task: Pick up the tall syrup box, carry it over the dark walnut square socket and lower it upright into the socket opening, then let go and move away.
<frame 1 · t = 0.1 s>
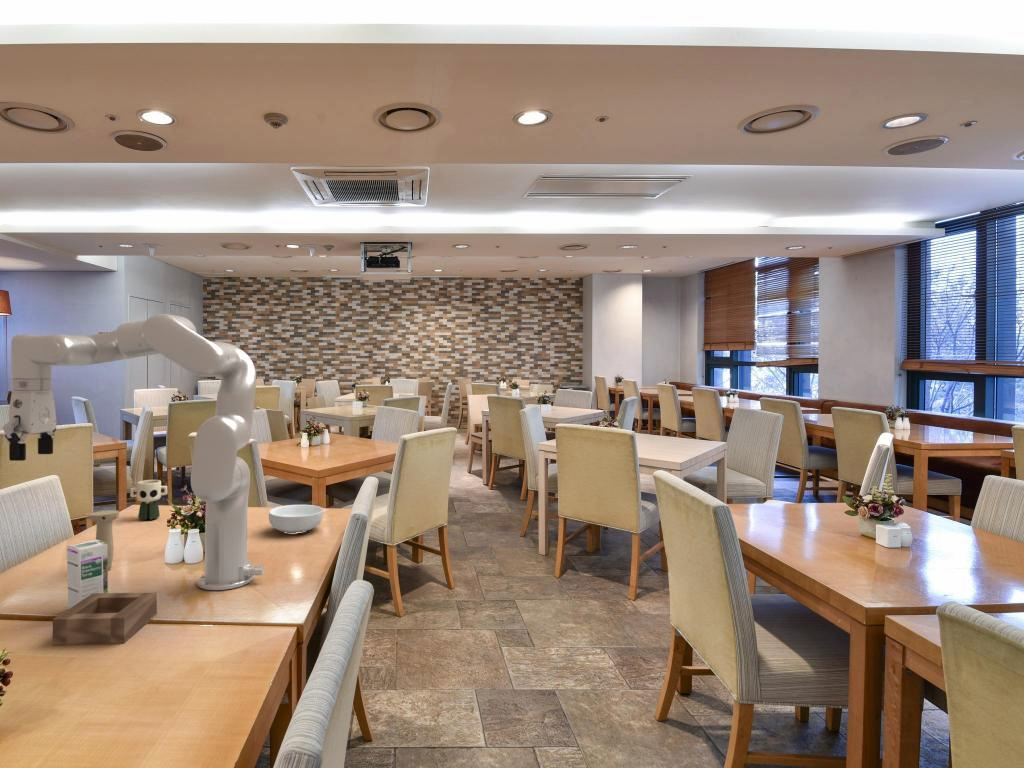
hand: (32, 457, 143), 31 cm above the table, tool pointing down, fingers open, 9 cm apart
handle: (104, 570, 155), on the table
cereal bowl: (296, 531, 195), on the table
syrup box: (87, 609, 132), on the table
character mug: (149, 519, 205), on the table
socket: (107, 629, 122), on the table
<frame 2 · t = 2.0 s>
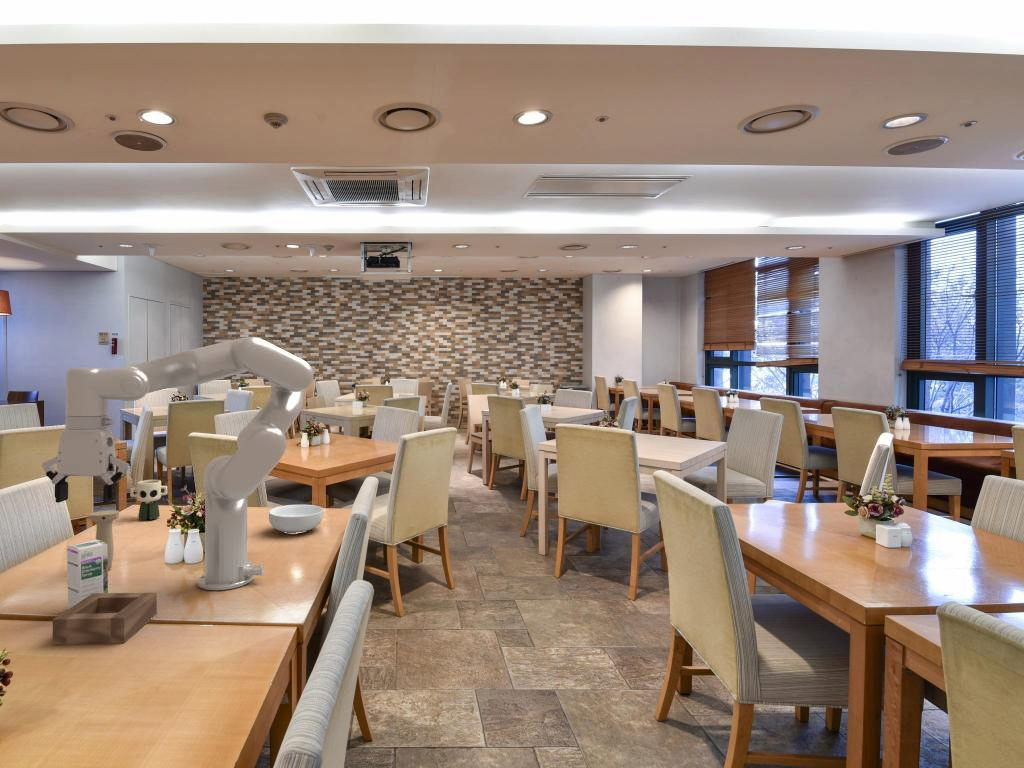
hand: (85, 501, 131), 24 cm above the table, tool pointing down, fingers open, 9 cm apart
nothing on the table moved.
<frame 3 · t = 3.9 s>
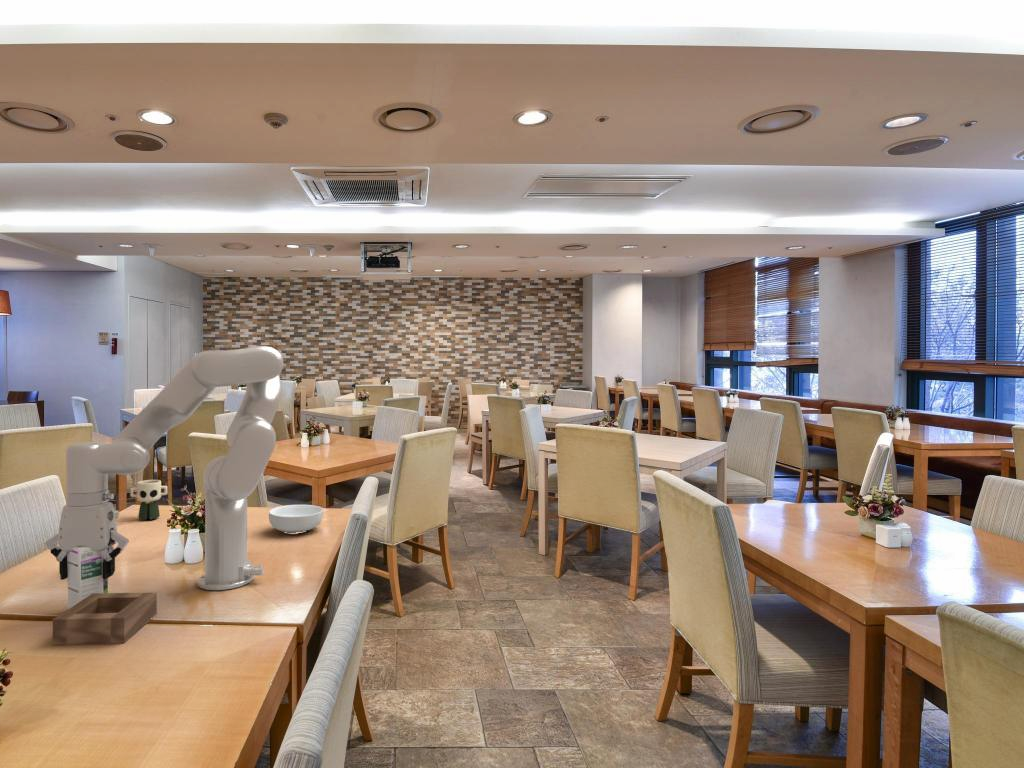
hand: (87, 576, 131), 7 cm above the table, tool pointing down, fingers closed on syrup box, 8 cm apart
syrup box: (87, 609, 132), on the table, touching gripper
everything else where it was.
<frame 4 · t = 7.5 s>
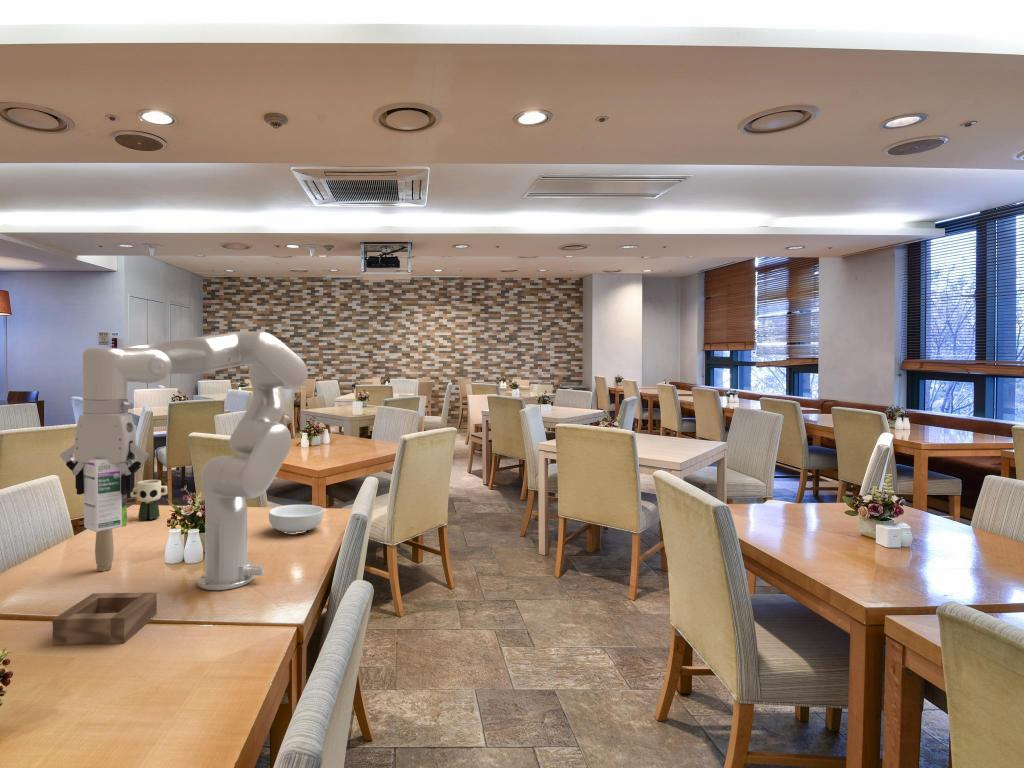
hand: (105, 492, 122), 28 cm above the table, tool pointing down, fingers closed on syrup box, 8 cm apart
syrup box: (105, 528, 122), point 21 cm above the table, touching gripper
everything else where it was.
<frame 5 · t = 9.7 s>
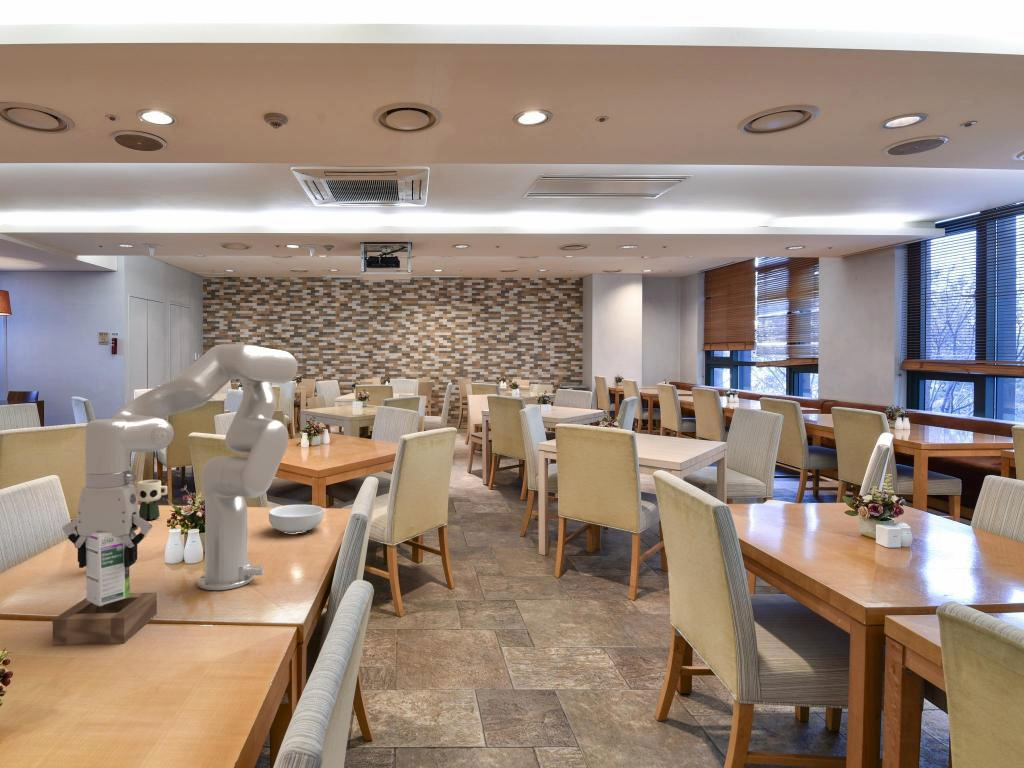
hand: (107, 564, 121), 13 cm above the table, tool pointing down, fingers closed on syrup box, 8 cm apart
syrup box: (107, 600, 122), point 6 cm above the table, touching gripper
everything else where it was.
when the fingers open (8 cm above the table, at t = 11.3 s): syrup box drops 1 cm, resting in socket.
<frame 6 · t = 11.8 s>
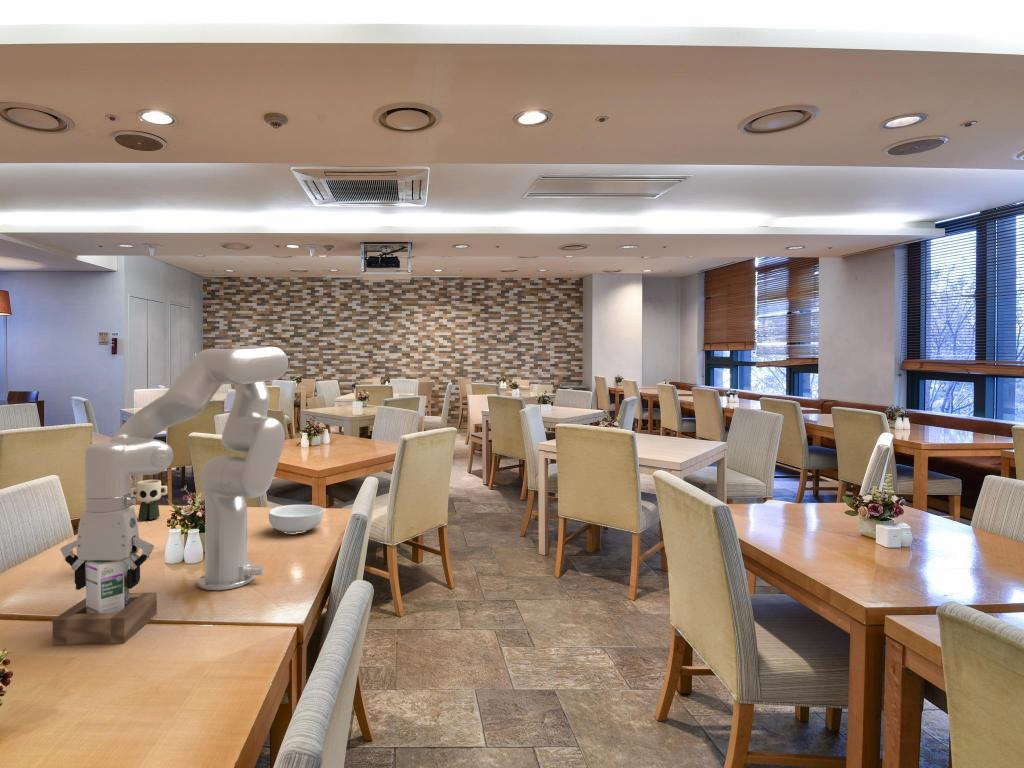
hand: (107, 586, 122), 9 cm above the table, tool pointing down, fingers open, 9 cm apart
syrup box: (107, 630, 122), resting in socket
everything else where it was.
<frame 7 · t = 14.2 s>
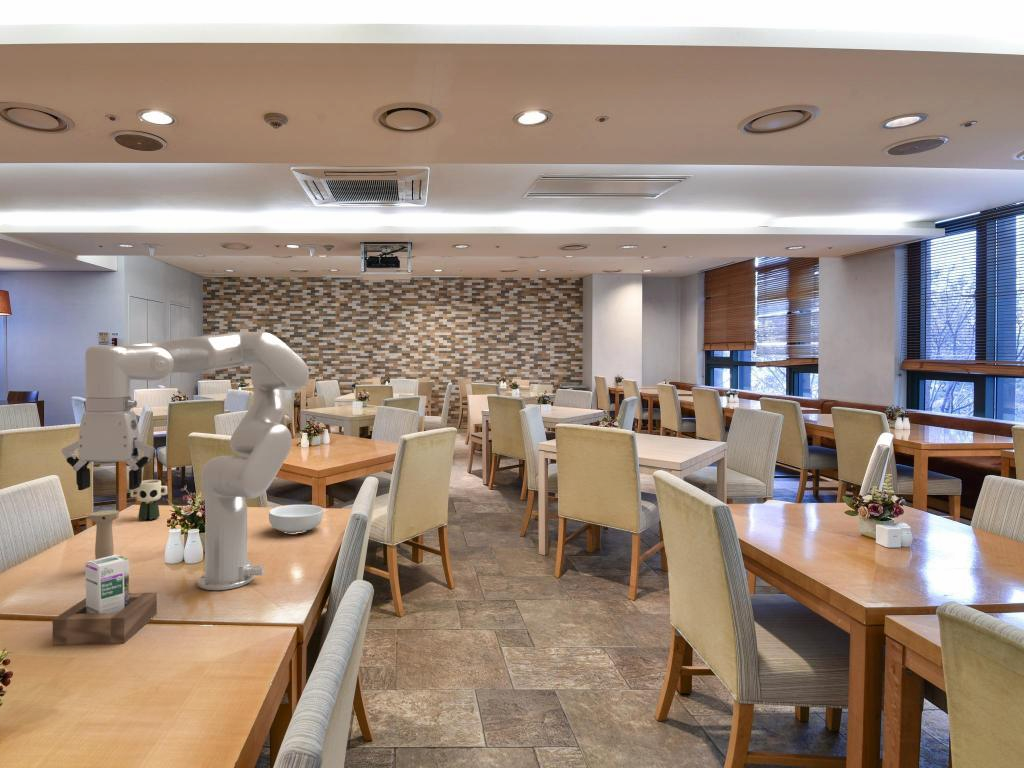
hand: (109, 488, 123), 29 cm above the table, tool pointing down, fingers open, 9 cm apart
nothing on the table moved.
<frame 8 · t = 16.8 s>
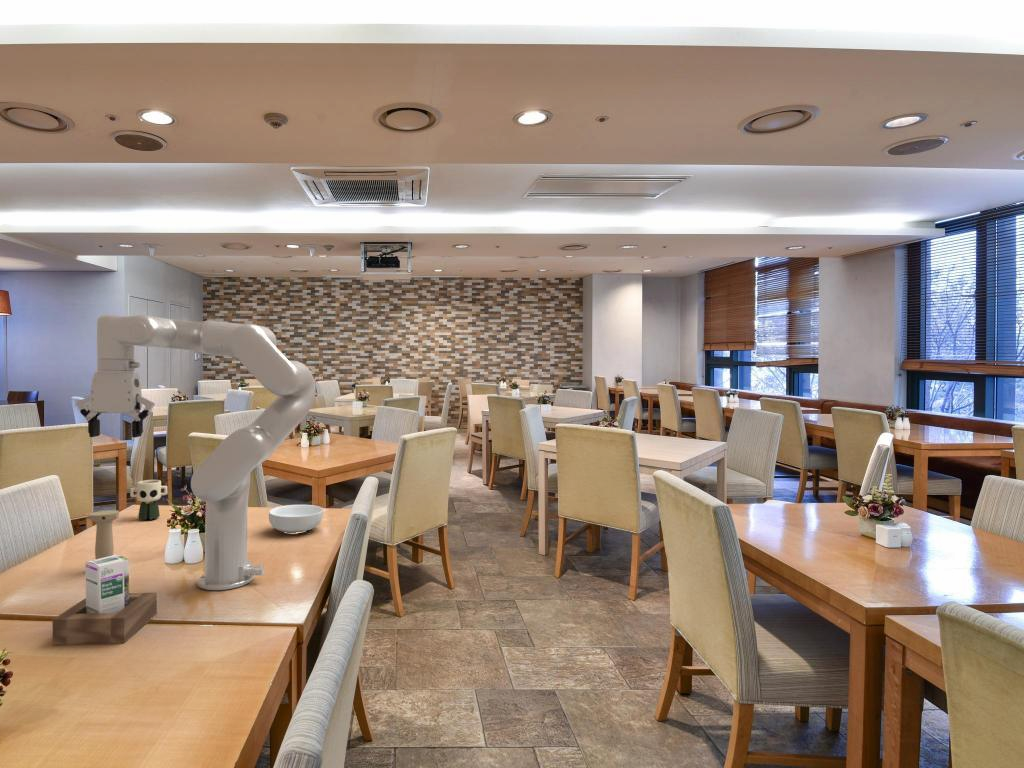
hand: (115, 436, 145), 36 cm above the table, tool pointing down, fingers open, 9 cm apart
nothing on the table moved.
at the end: syrup box 0.1 cm off-centre on the socket, point 0.0 cm above the socket's base; syrup box tilted 0°; the gripper is holding nothing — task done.
